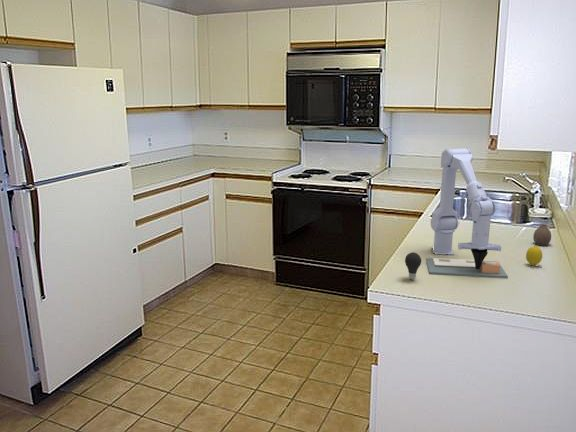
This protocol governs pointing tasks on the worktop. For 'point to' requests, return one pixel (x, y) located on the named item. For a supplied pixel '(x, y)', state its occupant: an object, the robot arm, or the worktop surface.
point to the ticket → (454, 263)
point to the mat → (462, 271)
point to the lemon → (534, 255)
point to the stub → (490, 267)
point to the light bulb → (412, 264)
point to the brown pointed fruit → (542, 235)
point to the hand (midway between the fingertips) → (477, 268)
